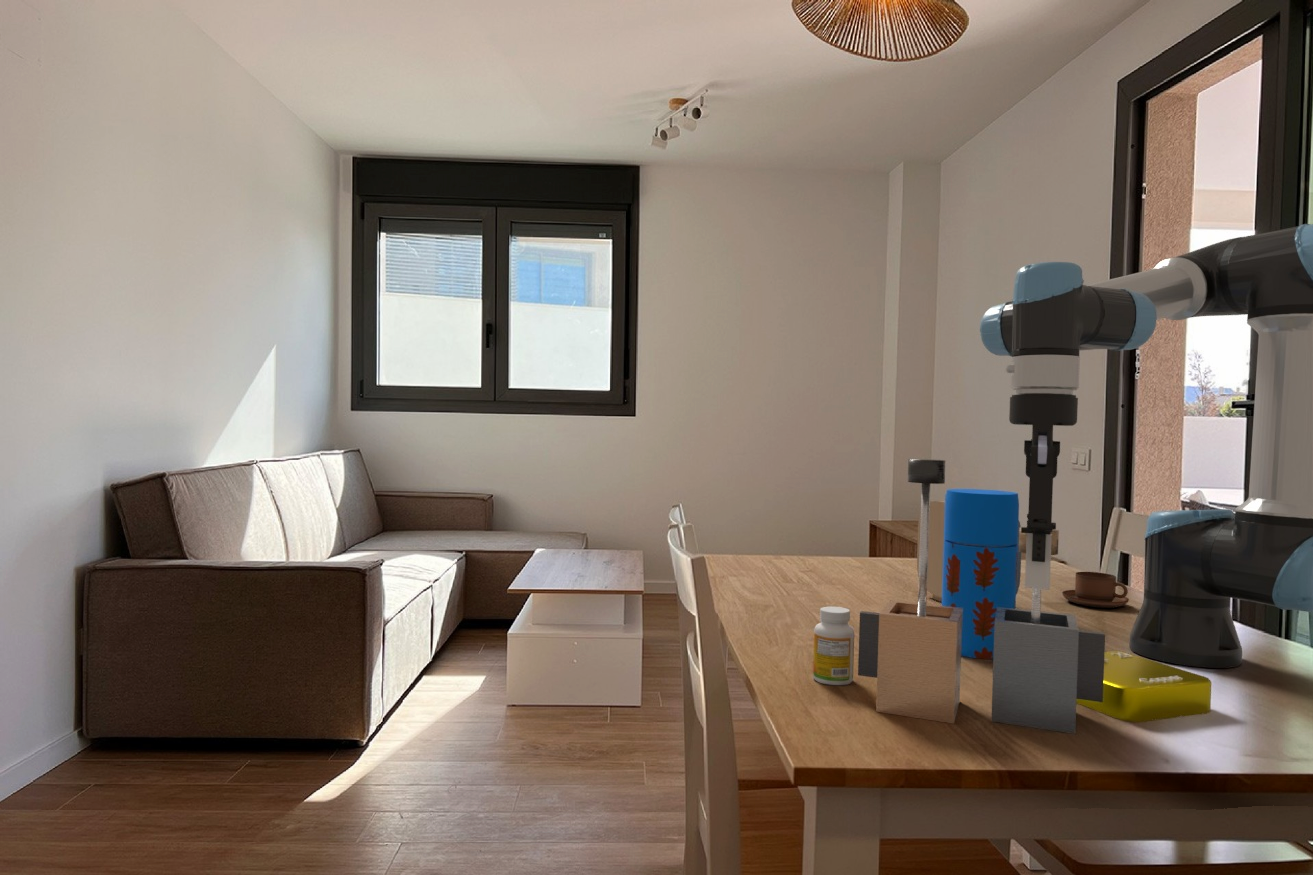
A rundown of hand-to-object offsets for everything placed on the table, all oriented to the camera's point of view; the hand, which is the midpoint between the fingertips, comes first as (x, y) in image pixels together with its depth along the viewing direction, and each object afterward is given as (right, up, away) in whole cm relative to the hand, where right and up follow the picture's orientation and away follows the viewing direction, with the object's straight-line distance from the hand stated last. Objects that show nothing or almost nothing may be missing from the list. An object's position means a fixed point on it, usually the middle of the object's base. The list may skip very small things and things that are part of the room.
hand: (1036, 584), depth 105 cm
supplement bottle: (-22, -15, +13) cm, 30 cm away
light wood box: (-15, -16, +3) cm, 22 cm away
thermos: (+4, -16, +31) cm, 35 cm away
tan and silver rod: (0, -14, 0) cm, 14 cm away
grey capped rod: (-13, -6, +3) cm, 15 cm away
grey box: (+1, -16, 0) cm, 16 cm away
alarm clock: (+15, -15, +66) cm, 70 cm away
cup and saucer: (+43, -16, +70) cm, 83 cm away
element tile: (+15, -17, +8) cm, 24 cm away
